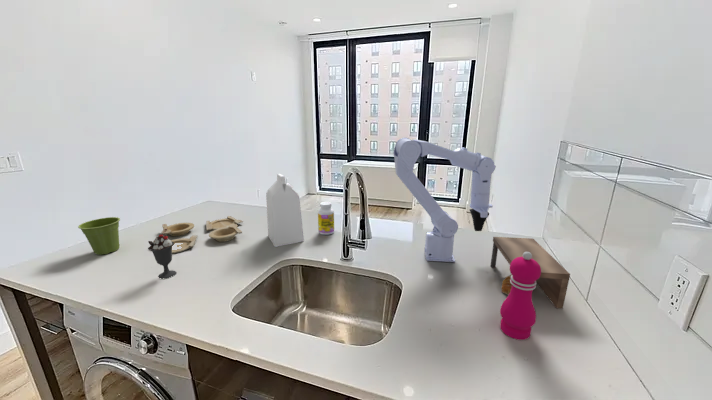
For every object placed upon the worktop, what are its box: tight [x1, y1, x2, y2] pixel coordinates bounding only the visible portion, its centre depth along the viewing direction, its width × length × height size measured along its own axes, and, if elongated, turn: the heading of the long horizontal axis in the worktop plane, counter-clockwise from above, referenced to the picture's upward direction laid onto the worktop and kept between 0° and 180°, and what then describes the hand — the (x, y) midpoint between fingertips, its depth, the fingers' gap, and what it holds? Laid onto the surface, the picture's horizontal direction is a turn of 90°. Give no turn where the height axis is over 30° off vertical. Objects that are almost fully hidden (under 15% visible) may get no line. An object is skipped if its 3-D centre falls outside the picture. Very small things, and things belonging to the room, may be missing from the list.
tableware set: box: [161, 215, 244, 255], centre depth 126 cm, size 35×29×4 cm
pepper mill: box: [499, 252, 541, 341], centre depth 68 cm, size 7×7×20 cm
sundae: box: [147, 229, 177, 280], centre depth 94 cm, size 7×7×15 cm
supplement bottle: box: [317, 201, 335, 236], centre depth 127 cm, size 7×7×13 cm
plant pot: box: [77, 216, 121, 256], centre depth 112 cm, size 12×12×11 cm
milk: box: [265, 173, 305, 247], centre depth 119 cm, size 12×12×26 cm
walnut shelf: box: [490, 236, 571, 310], centre depth 88 cm, size 12×22×10 cm, turn 172°
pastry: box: [501, 273, 512, 296], centre depth 86 cm, size 9×7×4 cm
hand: (477, 230), depth 105 cm, fingers closed
